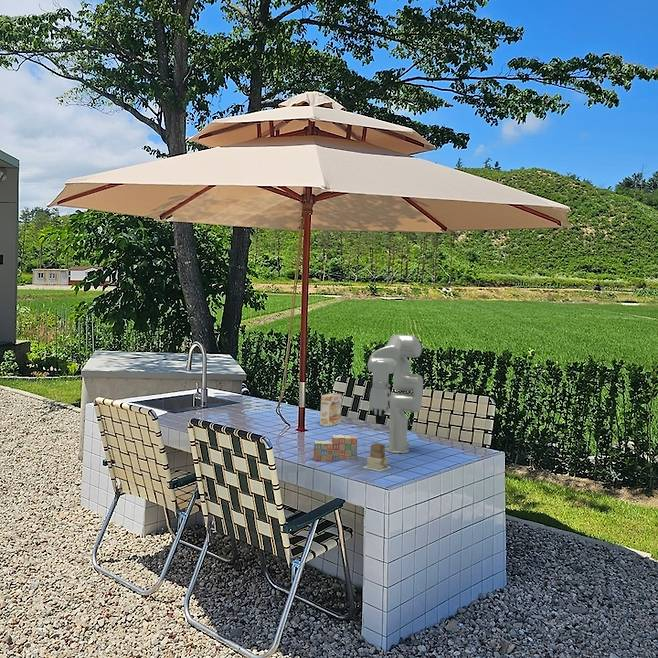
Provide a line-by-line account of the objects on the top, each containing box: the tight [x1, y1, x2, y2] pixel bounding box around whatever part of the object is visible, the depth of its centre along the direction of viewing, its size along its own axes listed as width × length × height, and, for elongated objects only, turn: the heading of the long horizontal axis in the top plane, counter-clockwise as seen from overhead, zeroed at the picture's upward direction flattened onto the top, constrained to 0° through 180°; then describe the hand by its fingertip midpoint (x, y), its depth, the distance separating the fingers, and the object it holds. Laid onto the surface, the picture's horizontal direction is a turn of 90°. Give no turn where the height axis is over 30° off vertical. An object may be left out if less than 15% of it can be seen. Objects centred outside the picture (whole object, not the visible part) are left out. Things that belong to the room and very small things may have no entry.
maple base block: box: [366, 456, 388, 470], centre depth 333 cm, size 7×7×5 cm
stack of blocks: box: [313, 434, 358, 462], centre depth 349 cm, size 21×6×12 cm, turn 95°
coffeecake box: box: [319, 392, 343, 427], centre depth 440 cm, size 15×7×20 cm, turn 148°
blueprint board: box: [356, 463, 398, 474], centre depth 333 cm, size 14×14×1 cm
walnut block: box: [370, 442, 386, 459], centre depth 332 cm, size 5×5×6 cm
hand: (378, 423), depth 332 cm, fingers closed
